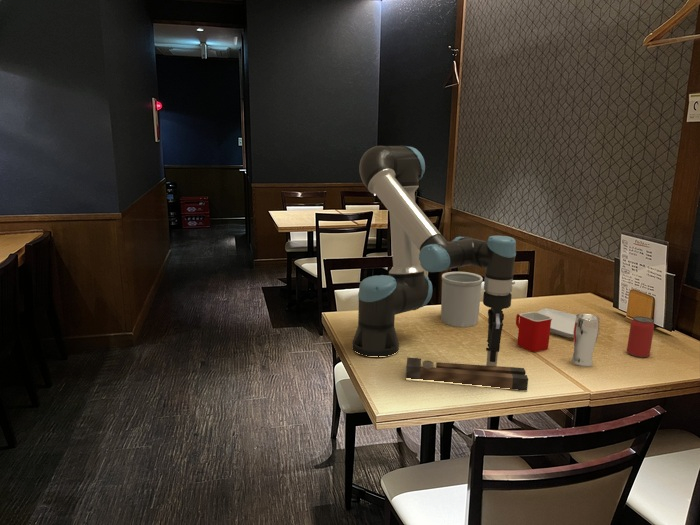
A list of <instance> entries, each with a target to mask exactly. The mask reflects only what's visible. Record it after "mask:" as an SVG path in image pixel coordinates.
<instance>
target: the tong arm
mask: <svg viewBox="0 0 700 525" xmlns="http://www.w3.org/2000/svg"><path fill="white" fill-rule="evenodd" d="M435 366H436V368H447V369H459V370H471V371H483V372H495V373H507V374H520V375H526V369H525V368H524V367H518V366H517V367H516V366H502V365H501V366H498V365H497V366H486V365H484V364H471V363H456V362H455V363H453V362H442V361H441V362H439V361H436V364H435Z"/></svg>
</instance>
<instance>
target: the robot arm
mask: <svg viewBox="0 0 700 525" xmlns="http://www.w3.org/2000/svg"><path fill="white" fill-rule="evenodd" d="M358 167H359V168H358V170H359V171H358V172H359V176H360V178H361V181H362V183H363V185H364V186H365V188H366V189H367V190H368V192H370V194H374V195H376V196H377V198H378V199H379V200H380V201H381V203H382V204H383V206H384V207H385V208H386V209H387V211H388V212H389V222H390V223H389V224H390V239H391V252H392V254H391V256H392V268H391V269H390V270H389V271H388V275H386V274H385V275H384V274H381V275H372V276H368V277H366V278H364V279H363V280H362V281H360V283H359V285H358V286H359V288H358V294H357V295H358V296H357V297H358V310H357V311H358V314H357V315H358V317H357V318H358V320H357V327H356V331H355V334H354V336H353V338H352V341H351V342H352V345H351V346H352V347H351V348H353V349H352V351H353V350H354V351H356V352H358V353H360V354H363V355H367V356H378V357H379V356H388V355H392V354H394V353H396V352H397V351H398V350H400V341H399V338H398V336H397V332H396V331H397V330H396V328H395V319H396V318H395V316H396V315H400V314H402V313H407V312H411V311H416V310H417V311H418V310H419V309H420V308H424V307H426V306H427V305H428V303H429V302H430V301H431V299H432V296H433V284H432V281H431V280H430V278H429V276H428V275H427V274H425V271H426V272H428V273H437V272H438V273H440V272H445V271H448V270H452V269H457V268H462V267H467V266H474V267H478V268H483V269H485V272H484V282H483V284H484V285H483V290H484V292H483V297H482V303H483V305H484V306H486V307H488V308H489V309H488V310H487V316H488V320H487V323H488V324H487V325H488V327H487V328H488V329H487V340H486V342H487V347H486V348H485V351H486V363H485V364H486V366H498V365H497V364H498V356H499V352H500V348H501V340H502V339H501V338H502V331H503V327H504V323H503V322H504V318H505V314H504V312H503V310H504V309H505V310H506V309H509V308H511V305H512V297H513V296H512V292H513V285H515V284H516V282H515V280H514V273H515V272H514V270H515V260H516V255H517V251H516V250H517V249H516V247H517V241H516V239H515V238H514V237H511V236H507V235H490V236H488V239H487V241H486V240H482V239H478V238H473V237H469V236H456V237H455V238H454V239H452V240H451V241H447V239H446V238H445V237H444V236H443V235H442V234H441V232H440V231H439V230H438V229H437V227H436V226H435V224H433V222H432V221H431V220H430V219H429V218H428V216H427V215H426V214H425V213H424V211H423V210H422V209H421V207H419V206H418V204H417V203H416V195H415V192H416V191H417V190H418V188H420V187H419V184H420V183H419V182H420V180H422V178H423V175H424V174H425V170H426V163H425V158H424V156H423V155H422V153H421V151H419V150H418V149H417V148H415V147H414V146H407V145H375V146H373V147H371V148H369V149H368V150H366V151H365V152H364V153H363V155H362V156H361V158H360V161H359V166H358ZM354 351H353V352H354ZM356 352H355V353H356ZM398 352H399V351H398ZM398 352H397V353H398ZM397 353H396V354H397ZM392 356H393V355H392Z"/></svg>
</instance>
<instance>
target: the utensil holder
mask: <svg viewBox="0 0 700 525" xmlns="http://www.w3.org/2000/svg"><path fill="white" fill-rule="evenodd" d="M483 279H484V278H483V277H482V276H481V275H480V274H478V273H473V272H467V271H450V272H444V273H442V274H441V280H442V281H441V302H440V303H441V304H440V306H441V310H440V312H441V313H440V316H441V317H440V318H441V322H443V323H444V324H445V325H448V326H452V327H456V328H457V327H458V328H470V327H474V326H476V325H477V324H478V323H479V315H480V305H481V294H482V284H483V283H484V282H483Z"/></svg>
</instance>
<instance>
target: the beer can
mask: <svg viewBox="0 0 700 525" xmlns="http://www.w3.org/2000/svg"><path fill="white" fill-rule="evenodd" d="M654 329H655V324H654V320H653V319H652V318H650V317H647V316H641V315H640V316H639V315H637V316H634V317H632V320H631V322H630V326H629V333H628V340H627V346H626V351H627V353H628V354H629V355H631V356H633V357H637V358H648V357H649V356H650V355H651V351H652V350H651V349H652V343H653V336H654Z"/></svg>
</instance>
